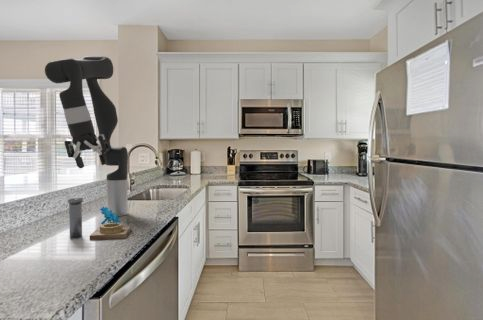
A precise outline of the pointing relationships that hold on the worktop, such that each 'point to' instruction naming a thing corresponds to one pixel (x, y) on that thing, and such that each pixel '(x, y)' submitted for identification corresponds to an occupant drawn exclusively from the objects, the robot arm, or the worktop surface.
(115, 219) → the blue irregular figure
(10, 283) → the worktop surface
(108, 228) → the stand
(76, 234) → the pin
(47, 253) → the worktop surface
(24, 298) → the worktop surface
